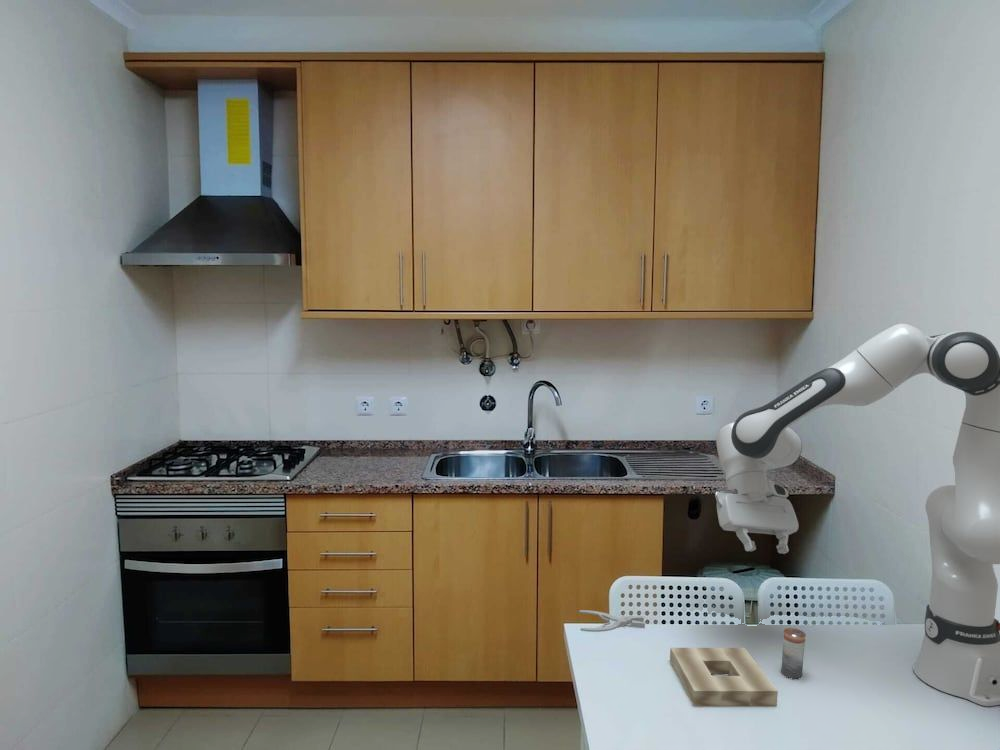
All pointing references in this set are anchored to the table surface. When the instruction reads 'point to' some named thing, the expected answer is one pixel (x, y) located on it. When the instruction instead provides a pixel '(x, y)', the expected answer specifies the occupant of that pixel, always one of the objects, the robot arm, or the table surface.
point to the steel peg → (793, 653)
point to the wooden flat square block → (722, 677)
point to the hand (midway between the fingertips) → (767, 551)
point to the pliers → (625, 621)
